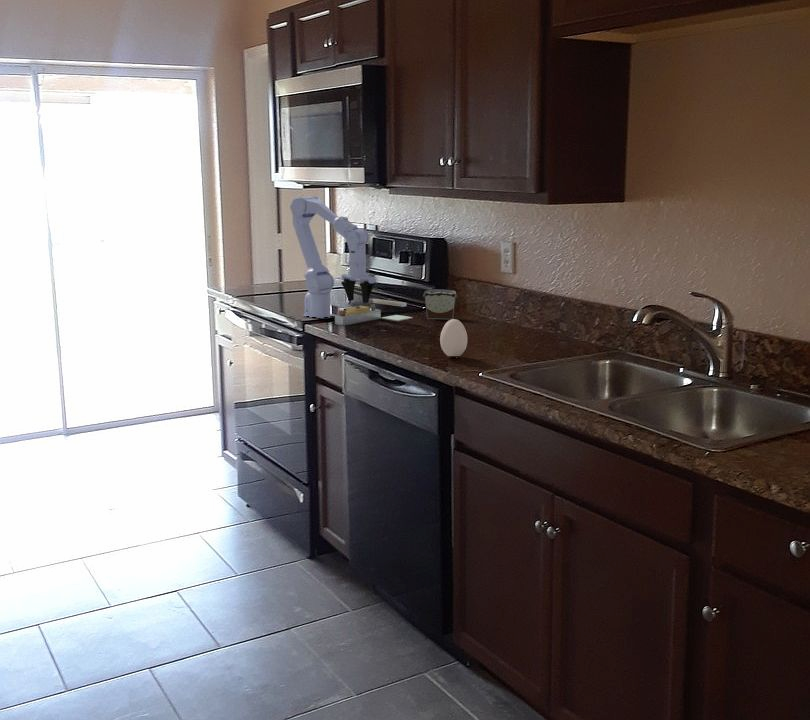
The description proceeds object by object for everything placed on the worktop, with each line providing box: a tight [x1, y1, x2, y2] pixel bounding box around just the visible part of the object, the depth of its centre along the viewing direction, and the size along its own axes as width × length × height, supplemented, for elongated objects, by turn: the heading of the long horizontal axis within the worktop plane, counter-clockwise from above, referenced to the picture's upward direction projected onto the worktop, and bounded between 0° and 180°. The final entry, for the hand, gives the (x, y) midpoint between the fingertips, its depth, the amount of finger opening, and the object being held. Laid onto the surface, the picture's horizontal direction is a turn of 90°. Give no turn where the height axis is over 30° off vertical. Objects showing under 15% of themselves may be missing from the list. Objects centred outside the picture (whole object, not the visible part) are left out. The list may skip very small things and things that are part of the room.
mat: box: [381, 314, 413, 322], centre depth 329 cm, size 8×8×1 cm
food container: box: [422, 289, 458, 320], centre depth 330 cm, size 12×6×10 cm, turn 84°
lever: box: [368, 298, 407, 308], centre depth 323 cm, size 2×16×1 cm, turn 51°
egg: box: [439, 318, 468, 357], centre depth 264 cm, size 8×8×11 cm
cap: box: [345, 305, 371, 314], centre depth 322 cm, size 5×7×2 cm
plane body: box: [334, 302, 382, 327], centre depth 323 cm, size 4×19×6 cm, turn 138°
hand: (358, 301), depth 322 cm, fingers open, 7 cm apart
